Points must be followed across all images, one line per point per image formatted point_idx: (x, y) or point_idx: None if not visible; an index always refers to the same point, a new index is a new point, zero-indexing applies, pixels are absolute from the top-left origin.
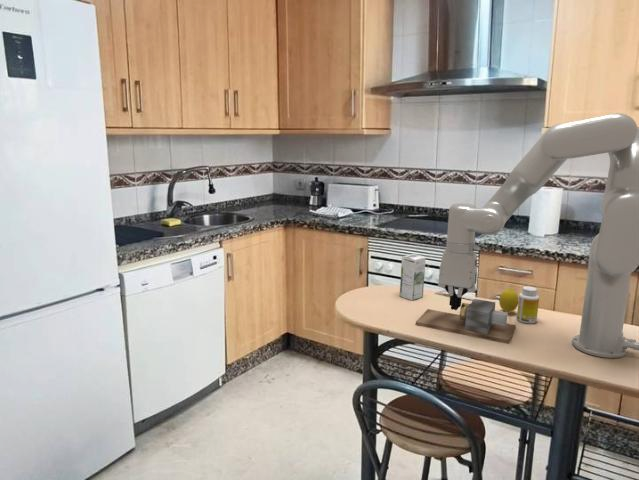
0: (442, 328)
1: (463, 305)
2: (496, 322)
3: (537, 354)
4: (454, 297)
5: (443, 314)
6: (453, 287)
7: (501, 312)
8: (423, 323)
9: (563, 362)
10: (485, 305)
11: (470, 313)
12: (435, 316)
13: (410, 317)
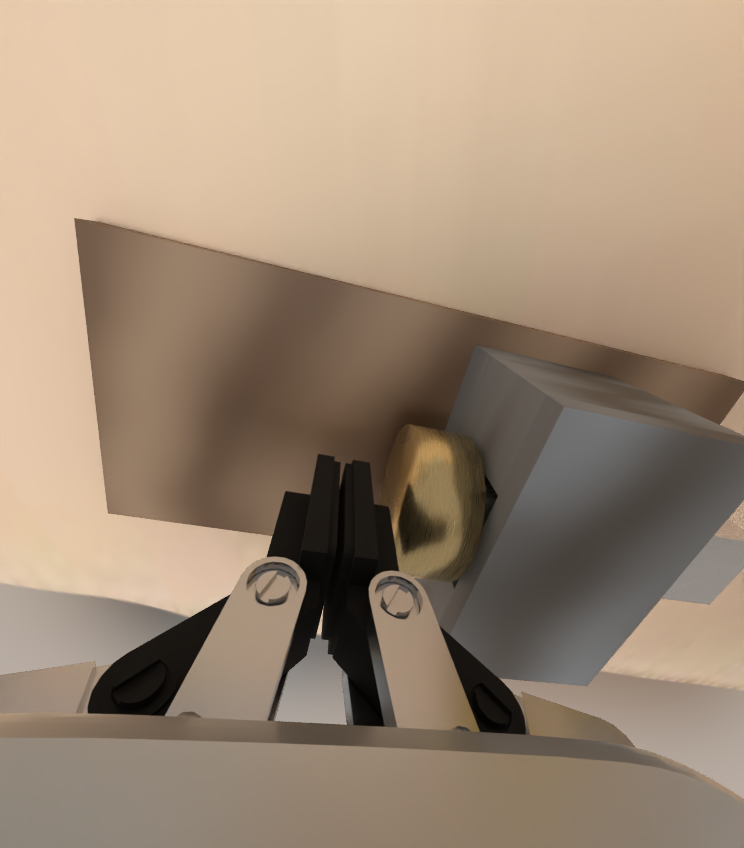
0: None
1: (411, 574)
2: None
3: (669, 615)
4: (315, 633)
5: (247, 325)
6: (257, 683)
7: (709, 556)
8: (162, 519)
9: (730, 640)
10: (621, 567)
11: None
12: (198, 389)
13: (29, 390)
